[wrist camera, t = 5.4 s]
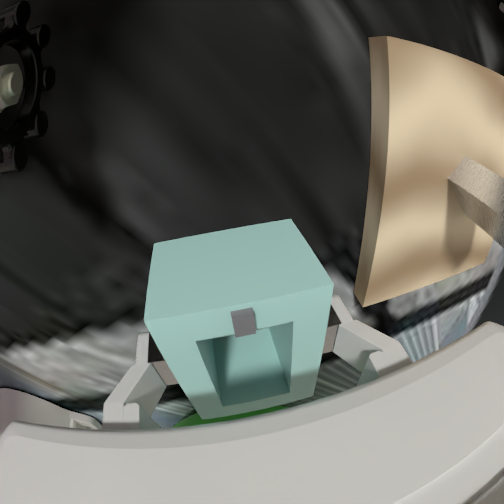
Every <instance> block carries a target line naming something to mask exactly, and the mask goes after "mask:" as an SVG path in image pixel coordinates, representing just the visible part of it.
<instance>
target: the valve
mask: <svg viewBox="0 0 504 504" xmlns="http://www.w3.org/2000/svg"><path fill="white" fill-rule="evenodd" d="M30 13H31V9H30V5H29V3H28V2H27V1H24V0H23V1H20V2H18V3H15V4H13V5H11V6H9V7H7V8H5V9H3V10H2V11H1V12H0V22H5V23H4V28H3V30H2V31H1V32H0V48H1V47H2V46H3V45H9V46H12V47H13V48H14V49H16V50H17V52H18V53H19V55H20V56H21V59H22V61H23V65H24V70H25V78H23V76H22V72H21V69H20V67H19V65H18V64H7V65H3V66H0V113H1V112H2V111H3V109H4V108H5V107H8V106H11V105H14V104H17V103H18V100H19V98H20V95H21V92H22V91H23V90H25V94H24V100H23V104H22V108H21V111H20V113H19V115H18V117H17V119H16V121H15V122H14V123H13V125H12V126H11V127H10V128H9V129H8V130H6V129H3V128H1V127H0V147H1V148H2V150H3V160H2V161H0V173H1V174H8V173H13V172H19V171H22V170H23V169H24V167H25V166H26V163H27V159H28V151H27V147H26V145H25V143H24V140H28V139H33V138H38V137H42V136H43V135H44V134H45V133H46V131H47V127H48V118H47V115H46V113H45V112H44V111H41V110H40V106H39V103H40V97H41V92H44V91H48V90H50V89H52V87H53V86H54V83H55V70H54V68H53V67H51V66H48V67H44V68H43V67H42V63H41V50H42V48H45V47H46V46H47V45H48V43H49V40H50V29H49V26H48V25H46V24H42V25H40V26H37V27H34V28H31V29H29V30H27V29H26V23H27V22H28V20H29V18H30Z"/></svg>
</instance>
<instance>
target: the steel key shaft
mask: <svg viewBox="0 0 504 504" xmlns="http://www.w3.org/2000/svg"><path fill="white" fill-rule="evenodd" d="M448 180H449V182H450V184H451V186H452V188H453V190H454V192H455V194H456V197H457V199H458V201H459V203H460V206H461V208H462V210H463V212H464V215H466V216H467V217H468V218H469V219H471V220H472V221H473V222H474V223H476V224H477V225H478V226H479V227H480V228H482V229H483V230H484V231H485V232H486V233H487V234H488V235H490V236H491V237H492V238H493V239H494V240H495V241H496V242H497V243H499V244H500V245H501V246H502V247H503V248H504V178H502V177H501V176H499V175H498V174H496V173H494V172H493V171H491V170H489V169H488V168H486V167H484V166H483V165H481V164H479V163H477V162H476V161H474V160H472V159H470V158H468V157H466V156H464V158H463V159H462V160H461V162H460V163H459V164H458V166H457V167H456V168H455V170H454V171H453V172H452V173H451V175H450V176H449V177H448Z"/></svg>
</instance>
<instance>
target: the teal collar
mask: <svg viewBox="0 0 504 504" xmlns="http://www.w3.org/2000/svg"><path fill="white" fill-rule="evenodd" d="M333 286H334V283H333V282H332V280H331V279H330V277H329V276H328V274H327V272H326V271H325V269H324V268H323V266H322V265H321V263H320V262H319V260H318V259H317V257H316V255H315V254H314V252H313V251H312V249H311V248H310V246H309V245H308V243H307V242H306V240H305V239H304V237H303V236H302V234H301V233H300V231H299V230H298V228H297V227H296V226H295V224H294V223H293V221H292V220H291V219H286V220H280V221H274V222H268V223H262V224H256V225H251V226H245V227H239V228H234V229H228V230H222V231H217V232H211V233H206V234H201V235H195V236H190V237H185V238H180V239H174V240H169V241H164V242H159V243H154V247H153V253H152V260H151V267H150V274H149V281H148V289H147V297H146V306H145V315H144V322H145V324H146V326H147V328H148V330H149V332H150V334H151V336H152V338H153V339H154V341H155V343H156V345H157V347H158V349H159V350H160V352H161V354H162V356H163V358H164V359H165V361H166V363H167V365H168V366H169V368H170V370H171V371H172V373H173V375H174V376H175V378H176V380H177V381H178V383H179V385H180V386H181V388H182V389H183V391H184V393H185V394H186V396H187V397H188V399H189V400H190V402H191V404H192V405H193V407H194V408H195V410H196V411H197V413H198V414H199V416H200V417H201V418H202V420H204V419H211V418H218V417H224V416H230V415H236V414H241V413H246V412H251V411H256V410H261V409H265V408H270V407H274V406H278V405H282V404H286V403H290V402H294V401H298V400H301V399H305V398H308V397H312V396H313V394H314V390H315V386H316V381H317V376H318V372H319V367H320V362H321V357H322V352H323V347H324V341H325V336H326V330H327V325H328V319H329V312H330V306H331V299H332V293H333ZM267 327H269V328H267ZM262 328H264V329H262ZM257 329H260V330H257ZM232 334H235V335H232ZM227 335H230V336H227ZM222 336H225V337H222ZM216 337H219V338H216ZM212 338H214V339H212Z"/></svg>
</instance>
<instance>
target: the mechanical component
mask: <svg viewBox="0 0 504 504" xmlns="http://www.w3.org/2000/svg"><path fill="white" fill-rule="evenodd" d="M503 1H504V0H503ZM499 8H500V10H501V11H502V12H503V13H504V4H503V3H502V2H501V3H500V5H499Z"/></svg>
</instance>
